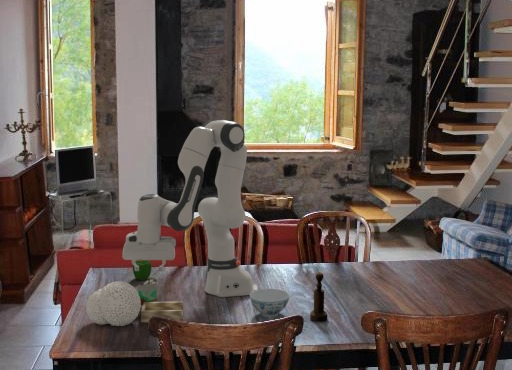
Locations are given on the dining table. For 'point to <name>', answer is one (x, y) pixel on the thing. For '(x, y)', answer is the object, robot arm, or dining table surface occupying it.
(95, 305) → the white bumpy round lump
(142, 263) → the bell pepper
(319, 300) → the pepper mill
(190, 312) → the dining table surface
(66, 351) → the dining table surface
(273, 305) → the chinaware
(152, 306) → the wooden tray
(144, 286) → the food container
